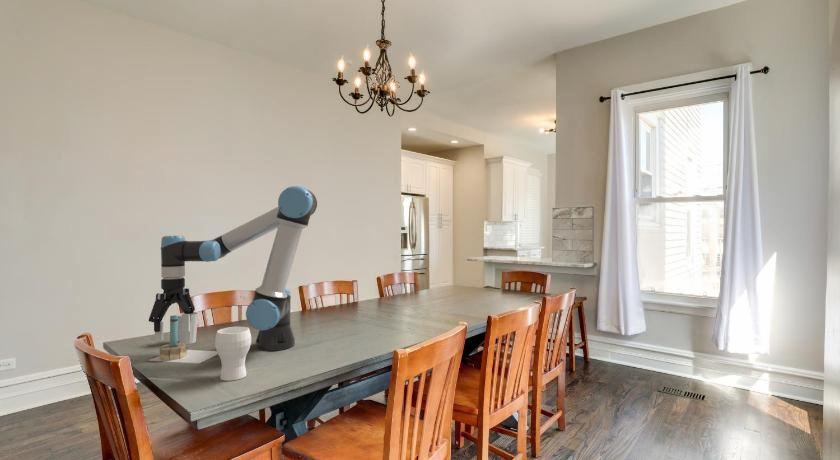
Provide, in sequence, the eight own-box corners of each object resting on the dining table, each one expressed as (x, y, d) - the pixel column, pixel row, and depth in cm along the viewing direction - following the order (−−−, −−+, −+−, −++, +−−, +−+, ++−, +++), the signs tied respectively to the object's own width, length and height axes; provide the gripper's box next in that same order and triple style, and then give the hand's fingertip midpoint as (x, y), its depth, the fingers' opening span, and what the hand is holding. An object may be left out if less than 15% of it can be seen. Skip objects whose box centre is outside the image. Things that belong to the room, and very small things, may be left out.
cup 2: (222, 371, 141) (222, 326, 141) (255, 370, 142) (255, 325, 142) (209, 383, 131) (209, 334, 131) (245, 382, 132) (245, 333, 131)
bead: (191, 354, 159) (191, 343, 159) (175, 361, 151) (175, 349, 151) (171, 353, 160) (171, 342, 160) (154, 359, 152) (154, 348, 152)
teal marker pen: (178, 356, 156) (179, 315, 156) (173, 358, 154) (174, 316, 154) (172, 355, 157) (173, 315, 157) (167, 357, 154) (168, 316, 154)
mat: (223, 352, 162) (223, 351, 162) (198, 364, 148) (198, 363, 148) (176, 350, 165) (176, 349, 165) (148, 361, 151) (148, 360, 151)
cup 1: (188, 346, 171) (188, 316, 171) (171, 345, 172) (171, 315, 172) (202, 341, 179) (202, 312, 179) (186, 339, 180) (186, 311, 180)
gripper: (187, 273, 168) (187, 327, 168) (136, 281, 143) (136, 344, 144) (204, 274, 167) (204, 328, 167) (155, 282, 142) (156, 345, 142)
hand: (173, 335), depth 155 cm, fingers open, 13 cm apart
